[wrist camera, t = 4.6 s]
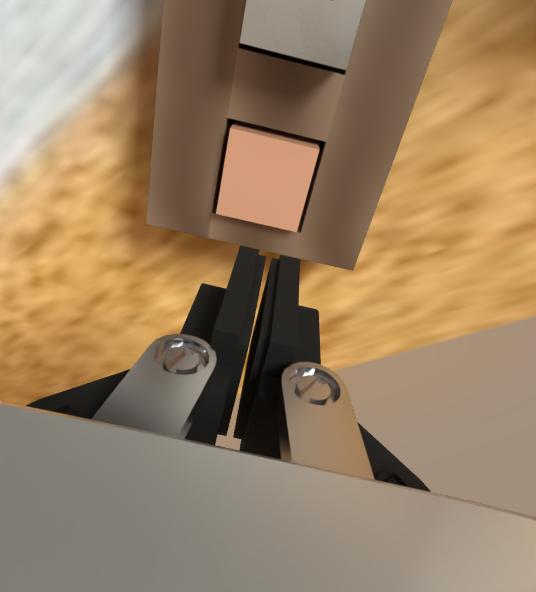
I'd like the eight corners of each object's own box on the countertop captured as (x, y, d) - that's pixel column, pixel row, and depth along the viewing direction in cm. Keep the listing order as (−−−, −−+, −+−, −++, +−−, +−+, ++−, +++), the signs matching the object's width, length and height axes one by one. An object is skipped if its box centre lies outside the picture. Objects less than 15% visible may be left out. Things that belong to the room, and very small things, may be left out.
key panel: (533, -320, 17) (614, -442, 13) (344, 236, 29) (353, 270, 25) (231, -418, 16) (207, -584, 12) (168, 195, 28) (146, 224, 24)
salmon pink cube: (316, 133, 24) (319, 149, 21) (296, 207, 26) (296, 232, 23) (239, 114, 24) (230, 128, 21) (226, 190, 26) (215, 213, 23)
